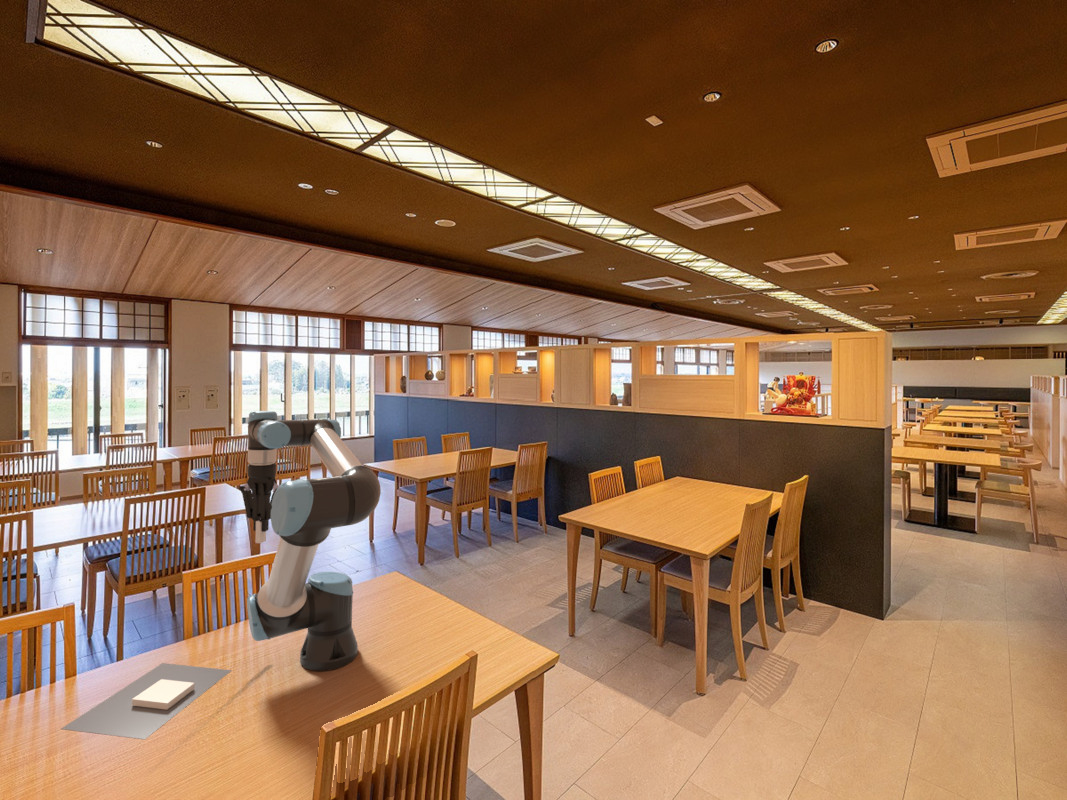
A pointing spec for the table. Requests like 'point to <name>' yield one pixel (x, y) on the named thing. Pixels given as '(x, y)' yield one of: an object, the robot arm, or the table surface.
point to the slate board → (143, 721)
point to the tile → (163, 694)
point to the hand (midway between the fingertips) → (260, 541)
